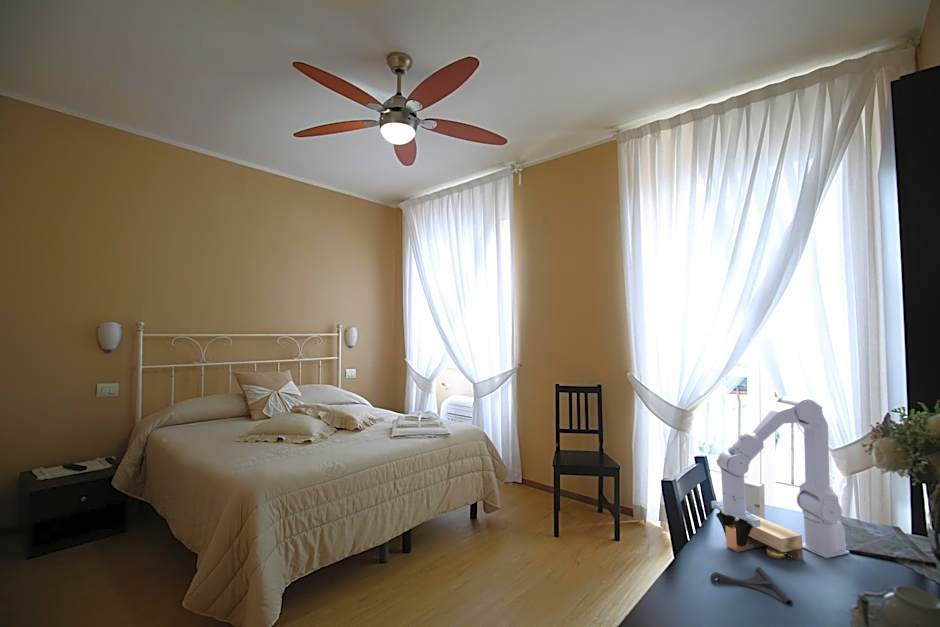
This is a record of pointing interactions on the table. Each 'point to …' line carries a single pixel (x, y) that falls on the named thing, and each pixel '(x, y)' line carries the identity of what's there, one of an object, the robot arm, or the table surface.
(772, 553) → the token
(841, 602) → the table surface
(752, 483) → the skincare box
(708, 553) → the table surface
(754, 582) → the bracket
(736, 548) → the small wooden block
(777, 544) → the wooden plank block
